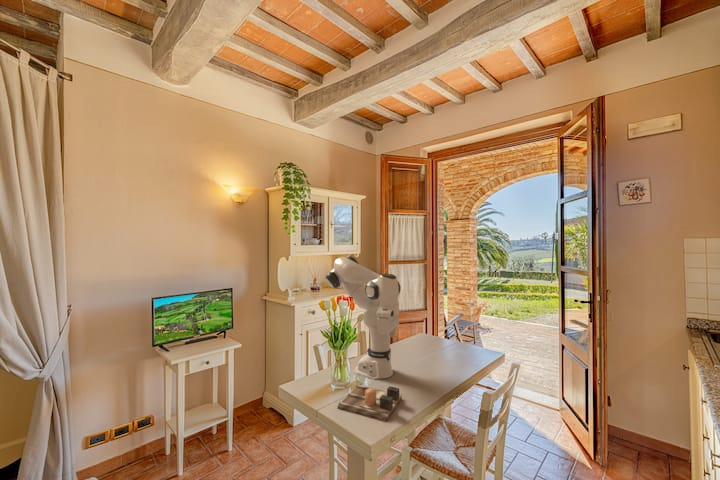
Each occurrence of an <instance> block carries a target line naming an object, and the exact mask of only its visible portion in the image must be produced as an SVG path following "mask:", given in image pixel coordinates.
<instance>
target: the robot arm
mask: <svg viewBox="0 0 720 480" xmlns="http://www.w3.org/2000/svg"><path fill="white" fill-rule="evenodd" d="M397 278H398V277H397V275H394V274H392V273H382V274H381V273H379V272H376V271H374V270H372V269H370V268H367V267H365V266H363V265H361V264H359V261H358V260H357V259H356V257H353V256H350V255H349V256H347V257H344V256H342V257H341V256H339V257H338V258H336V259H335V260H334V262H333V268H332V269H331V270H330V271H328V272H327V274H326V275H325V280H326V283H327V285H328V286H330V287H331V288H332V289H338V288H340V287H342V288H343V289H342V290H344V292H345V293H346V294H347V296H348V297H349V298H350V297H353V300H354V301H353V300H352V301H353V302H354V303H355V304H356V305H357V306H358V308H360V309H363V310H366V311H365V312H364V313H363V315H362V321H363V323H364V325H365V326H366V327H367V328H368V332H369V335H370V336H369V338H370V346H369V347H368V348H367V349H366V354H365V355H364V356H363V357H361V358H360V359H358V360H359V361H358V364H357V366H355V368H354V369H353V374H355V373H357V374H356V375H358V374H359V375H358V376H361V375H363V376H362V377H364V376H366V377H365V378H367V379H371V380H373V381H374V380H375V381H377V380H381V379H387V378H390V377H392V376H393V375H394V371H393V369H392V363H391V361H392V360H391V359H392V353H391V351H392V350H391V349H392V348H391V338H395V337H396V331H397V327H398V326H399V325H400V303H399V295H400V292H401V284H400V282H399V281H398V279H397ZM363 283H366V285H365V284H363Z"/></svg>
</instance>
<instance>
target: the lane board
mask: <svg viewBox="0 0 720 480" xmlns="http://www.w3.org/2000/svg"><path fill="white" fill-rule="evenodd" d="M368 388H370V387H369V386H365V385H359V384H356V386H355V388H354V389H353V390H352V391H351V392H348V393H347V396H346V397H345V398H344V399H342V401H339V402H338V404H337V409H339V410H343V411H347V412H350V413H354V414H357V415H361V416H364V417H369V418H372V419H376V420H380V421H384V422H388V420H389V419H390V418H391V416H392V415H393V412H395V410H396V408H397V407H398V406H399V404H400V402H401V401H402V399H403V398H402V397H403V394H400V393H399V396H401V398H400V400H399V401H398V403H397V404H396V405H395V404H393V405H394V409H393V410H392V412H391V413H390V415H389V416H388V414H385V413H381V412H377V411H373V410H370V409H366V408H362V407H360V405H361V404H362V402H363V401H364V400H365V390H366V389H368ZM372 388H373V387H372ZM373 389H375V390H377V391H382V392H386V393H387V390H382V389H377V388H373ZM376 401H379V402H380V400H377V399H376Z"/></svg>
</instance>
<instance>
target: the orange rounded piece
mask: <svg viewBox="0 0 720 480" xmlns="http://www.w3.org/2000/svg"><path fill="white" fill-rule="evenodd" d="M375 389H376V388H374V389H373V387H369V388H368V389H366V390H365V405H366V406H368V407H374V406H376V390H375Z"/></svg>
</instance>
